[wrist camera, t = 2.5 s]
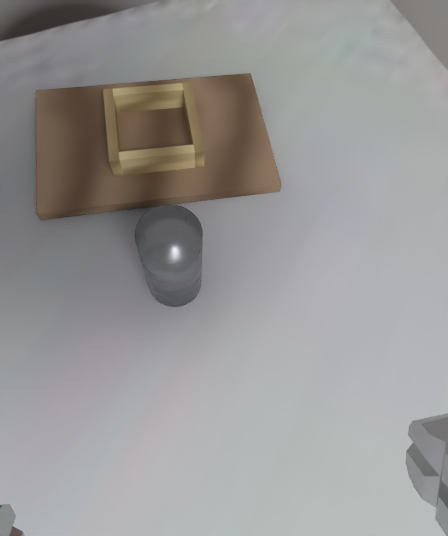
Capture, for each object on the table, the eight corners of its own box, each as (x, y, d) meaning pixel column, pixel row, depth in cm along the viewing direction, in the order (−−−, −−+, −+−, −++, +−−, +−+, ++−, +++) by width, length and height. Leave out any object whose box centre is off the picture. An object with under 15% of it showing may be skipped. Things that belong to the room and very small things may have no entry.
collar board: (40, 219, 33) (26, 199, 30) (40, 99, 38) (27, 72, 35) (279, 191, 35) (286, 170, 33) (249, 81, 40) (253, 55, 38)
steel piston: (152, 310, 31) (138, 268, 23) (146, 262, 32) (131, 208, 25) (205, 302, 31) (207, 259, 24) (197, 255, 33) (197, 201, 25)
